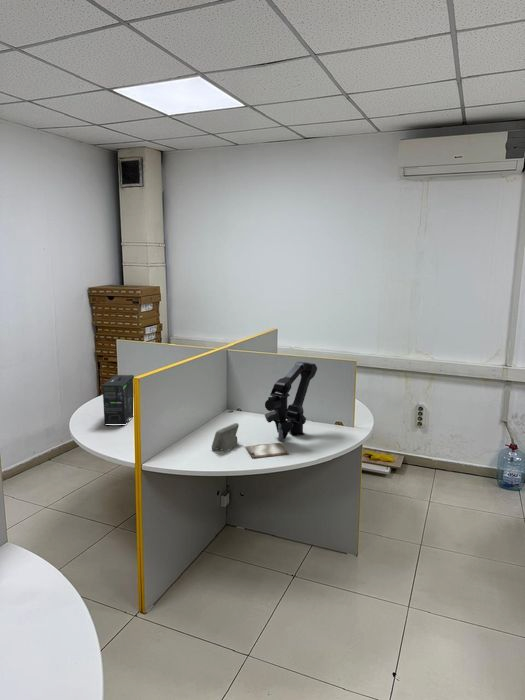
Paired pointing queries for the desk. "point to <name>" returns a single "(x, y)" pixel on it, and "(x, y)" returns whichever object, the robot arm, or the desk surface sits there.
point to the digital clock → (225, 437)
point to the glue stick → (280, 434)
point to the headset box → (118, 399)
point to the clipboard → (266, 450)
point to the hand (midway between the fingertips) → (281, 435)
